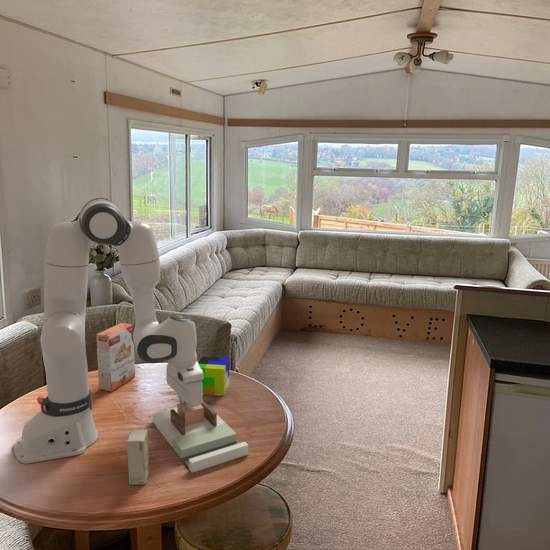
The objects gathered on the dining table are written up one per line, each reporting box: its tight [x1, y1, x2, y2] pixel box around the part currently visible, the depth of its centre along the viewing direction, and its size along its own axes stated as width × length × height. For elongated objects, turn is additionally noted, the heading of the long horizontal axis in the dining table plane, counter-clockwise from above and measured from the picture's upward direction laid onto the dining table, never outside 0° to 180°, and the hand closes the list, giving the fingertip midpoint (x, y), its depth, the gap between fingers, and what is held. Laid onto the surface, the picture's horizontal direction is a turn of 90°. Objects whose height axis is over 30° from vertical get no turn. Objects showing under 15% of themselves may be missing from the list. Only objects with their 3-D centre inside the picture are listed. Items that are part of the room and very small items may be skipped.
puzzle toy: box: [198, 356, 230, 395], centre depth 186 cm, size 10×10×10 cm
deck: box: [151, 400, 249, 474], centre depth 155 cm, size 17×31×3 cm, turn 32°
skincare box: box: [126, 429, 150, 486], centre depth 134 cm, size 6×4×12 cm
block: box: [176, 402, 204, 426], centre depth 159 cm, size 6×6×4 cm
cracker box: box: [96, 322, 136, 393], centre depth 188 cm, size 14×6×21 cm, turn 159°
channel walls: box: [170, 400, 218, 435], centre depth 156 cm, size 11×9×4 cm
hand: (183, 407), depth 163 cm, fingers closed
